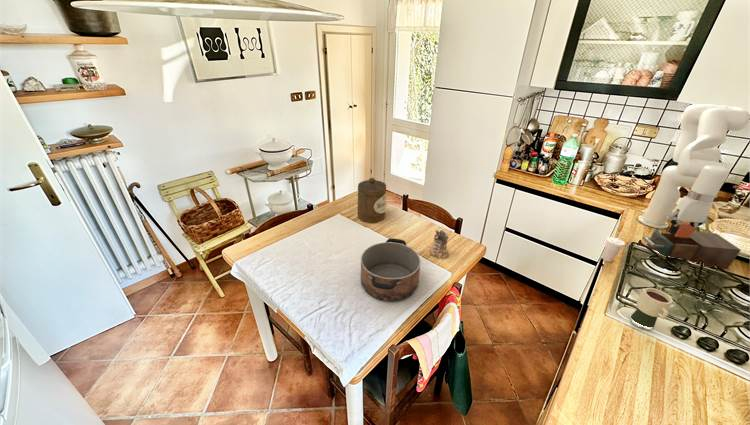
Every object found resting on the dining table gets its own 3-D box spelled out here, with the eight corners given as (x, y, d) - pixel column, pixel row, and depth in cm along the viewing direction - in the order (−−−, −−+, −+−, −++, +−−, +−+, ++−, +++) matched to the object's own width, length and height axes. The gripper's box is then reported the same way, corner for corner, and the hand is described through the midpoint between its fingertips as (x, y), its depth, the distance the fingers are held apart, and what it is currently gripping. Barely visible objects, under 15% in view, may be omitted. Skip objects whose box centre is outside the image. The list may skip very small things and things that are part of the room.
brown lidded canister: (382, 224, 156) (383, 185, 146) (354, 221, 159) (353, 182, 149) (387, 211, 169) (389, 174, 158) (362, 208, 172) (361, 171, 161)
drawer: (649, 258, 133) (658, 243, 130) (634, 243, 143) (642, 229, 140) (695, 262, 131) (705, 247, 127) (676, 247, 141) (685, 233, 137)
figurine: (447, 259, 132) (450, 236, 126) (430, 257, 133) (433, 234, 127) (446, 250, 138) (450, 227, 132) (431, 248, 139) (433, 225, 133)
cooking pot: (412, 315, 104) (415, 291, 99) (350, 303, 108) (350, 280, 103) (422, 262, 130) (424, 241, 124) (371, 254, 134) (371, 233, 129)
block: (668, 230, 135) (673, 221, 132) (680, 232, 134) (686, 222, 131) (675, 236, 130) (681, 226, 128) (689, 238, 130) (695, 228, 127)
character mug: (663, 338, 97) (684, 309, 91) (640, 336, 98) (659, 307, 91) (640, 312, 107) (657, 284, 101) (619, 310, 107) (635, 282, 101)
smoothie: (618, 264, 130) (632, 237, 124) (602, 262, 131) (615, 235, 125) (611, 255, 136) (624, 229, 129) (596, 254, 137) (608, 227, 130)
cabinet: (690, 264, 131) (702, 246, 126) (670, 247, 142) (681, 230, 137) (727, 268, 129) (741, 249, 124) (704, 251, 140) (716, 233, 135)
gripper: (717, 194, 125) (694, 231, 134) (670, 190, 128) (651, 227, 136) (732, 202, 119) (707, 240, 127) (683, 198, 121) (662, 236, 130)
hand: (678, 233), depth 132 cm, fingers closed on block, 5 cm apart
